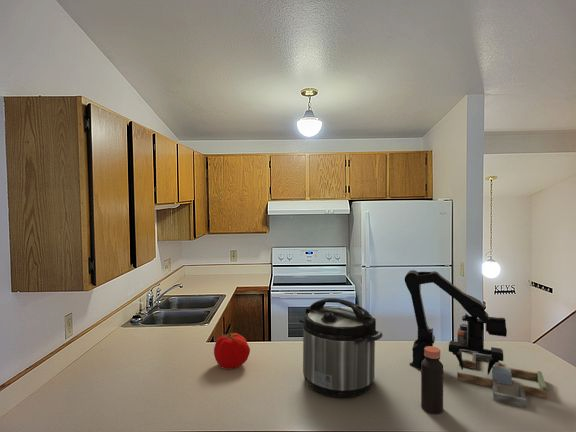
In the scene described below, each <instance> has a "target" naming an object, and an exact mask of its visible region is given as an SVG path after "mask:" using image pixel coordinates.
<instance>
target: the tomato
mask: <svg viewBox="0 0 576 432" xmlns="http://www.w3.org/2000/svg"><path fill="white" fill-rule="evenodd" d="M220 335H221V336H219V337H218V338H217V340H216V341H215V344H214V348H213V355H214V358H215V361H216V363H217V365H218V366H219V367H220V368H222V369H226V370H232V369H238V368H240V367H242V365H244V363H246V362H247V361H248V360H249V359H248V358H249V356H250V352H251V348H250V345H249V343H248V342H247V339H246V338H245V337H244V336H242V335H241V334H239V333H237V332H230V333H228V334H222V333H220Z"/></svg>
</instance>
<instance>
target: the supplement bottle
mask: <svg viewBox="0 0 576 432" xmlns="http://www.w3.org/2000/svg"><path fill="white" fill-rule="evenodd" d="M464 332H467V323H466V324H465V323H460V324H459V328H458V329H457V333H456V334H457V336H456V337H457V342H460V345H463V346H467V340H464ZM464 352H468V351H464Z"/></svg>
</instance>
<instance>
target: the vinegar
mask: <svg viewBox="0 0 576 432" xmlns="http://www.w3.org/2000/svg"><path fill="white" fill-rule="evenodd" d="M424 355H425V359H424V360H423V361H422V362H421V369H420V371H421V374H420V379H421V381H420V385H421V386H420V387H421V388H420V389H421V391H420V395H421V396H420V406H421V409H422V410H423V411H424V412H427V413H429V414H432V415H438V414H442V412H443V411H444V364H443V362H441V361H440V359H441V349H440V348H439V347H436V346H434V345H433V346H427V347H425V348H424Z"/></svg>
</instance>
